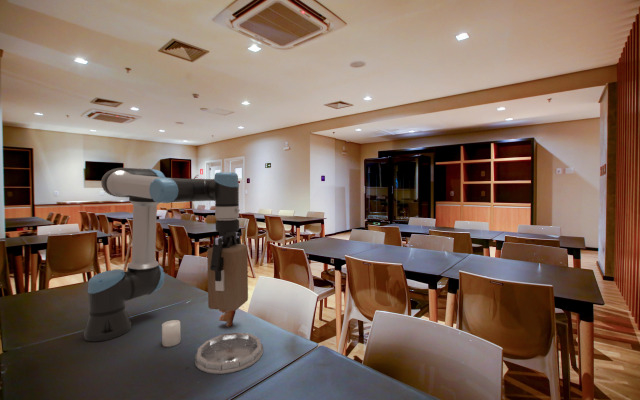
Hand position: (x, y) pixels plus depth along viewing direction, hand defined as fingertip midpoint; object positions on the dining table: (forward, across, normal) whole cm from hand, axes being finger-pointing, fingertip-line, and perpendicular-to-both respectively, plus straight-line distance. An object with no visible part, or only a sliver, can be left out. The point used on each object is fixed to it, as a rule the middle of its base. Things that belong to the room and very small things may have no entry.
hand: (228, 285), depth 101 cm
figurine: (+24, +19, +11) cm, 32 cm away
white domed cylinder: (+24, +3, +25) cm, 35 cm away
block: (+7, 0, 0) cm, 7 cm away
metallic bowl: (+24, 0, 0) cm, 24 cm away
